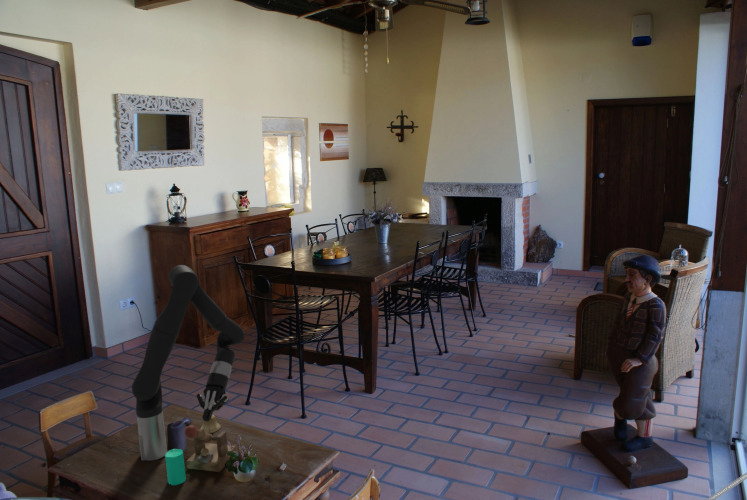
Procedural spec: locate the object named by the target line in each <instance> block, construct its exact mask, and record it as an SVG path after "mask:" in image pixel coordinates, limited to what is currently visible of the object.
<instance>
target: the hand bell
mask: <svg viewBox="0 0 747 500" xmlns="http://www.w3.org/2000/svg"><path fill="white" fill-rule="evenodd" d="M205 400H206V399H205V398H204V401H205ZM221 427H222V425H221V424H220V423H218V421H217V420H216V416H215V415H214V414H212V417H211V419H210V420H209V422H207V421H204V420H203V422H202V425H201V427H200V429H203V430H204V432H206V433H209V434H212V433H216V432H218V431H220V429H221Z"/></svg>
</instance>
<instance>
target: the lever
mask: <svg viewBox="0 0 747 500" xmlns="http://www.w3.org/2000/svg"><path fill="white" fill-rule="evenodd" d="M184 435H185V437H186V438H189V439H191V438H193V439H194V437H195V438H198V439H201V440H204V441H205V442H206V443H210V442H212V441H214V442H217V439H216V437H217V436H213V435H212V433H206V432H204V431H201V430H199V429H197V426H196V425H193V424H190V425H188V426H186V428H185V429H184Z"/></svg>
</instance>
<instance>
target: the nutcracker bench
mask: <svg viewBox="0 0 747 500" xmlns="http://www.w3.org/2000/svg"><path fill="white" fill-rule="evenodd" d="M198 430H201V431H204V430H203V429H198ZM215 437H216V439H217V441H216V443H210V442H206V441H204V440H201V439H198V438H195V437H193V442H194V443H193V444H194V453H193V454H191V456H190V457H189V458H188V459H187V460H186V467H187V469H188V470H198V471H206V472H207V471H208V472H217V473H220V472H221V471H222V470H223V469H224V468H225V467H226V466H225V463H226V461H227V460H229V457H228V455H227V451H236V452H237V445H234V444H233V445H232V444H231V445H232V447H233V449H231V447H230V446H229V445H230V444H228V440H227V439H228V438H227V431H224V430H223V431H220V433H219V434H217V436H215Z"/></svg>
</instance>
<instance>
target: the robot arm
mask: <svg viewBox="0 0 747 500" xmlns="http://www.w3.org/2000/svg"><path fill="white" fill-rule="evenodd" d="M168 280H169V284H170V286H171V291H170V292H171V293H170V295H169V298H168V302H167V303H166V306H165V308H164V309H163V310H162V311H161V313H160V314H159V315H158V317H157V319H156V320H155V322H154V324H153V326H152V330H151V332H150V335H149V339H148V342H147V346H146V351H145V355H144V358H143V363H142V365H141V367H140V369H139V371H138V373H137V374H136V375H135V377H134V379H133V382H132V384H131V392H132V394H133V396H134V398H135V401H136V405H135V413H136V420H137V421H136V422H137V430H138V431H137V432H138V442H139V443H138V444H139V451H140V452H139V453H140V458H141V462H142V461H150V462H151V461H157V460H160V459H162V458H163V457H165V454H166V453H167V452H168V447H167V436H166V429H165V420H164V412H163V392H162V389H163V388H162V381H161V375H162V373H163V370H164V366H165V365H166V363H167V360H168V359H169V356H170V355H171V352H172V350H173V349H174V346H175V344H176V341H177V339H178V337H179V333H180V330H181V327H182V324H183V321H184V318H185V316H186V313H187V309H188V307H189V305H190V303H192V305H193V306H194V307H195V309H196V310H197V311H198V312H199V314H200V315H201V317H202V318H203V319H204V321H205V322H207V324H208V325H209V326H210V327H211V328H212V330H213V331H216V332H218V334H217V338H216V354H215V358H214V360H213V363H212V365H211V368H210V370H209V374H208V377H207V380H206V383H205V388H204V389H203V390H202V391H203V392H201V393H197V394H196V398H197V400H198V403H199V405H200V408H201V409H202V410H203V414H202V416H201V417H202V420H203V422H204V421H207V422H209V420H210V419H211V417H212V415H214V414H213V413H214V412H215V411H219V410H220V409H222V408H223V407H224V405H226V404H227V403H228V402H229V401H230V398H229V397H228V396H227V394H226V390H227V387H228V384H229V379H230V377H231V373H232V367H233V363H234V361H235V357H236V355H235V354H236V353H235V351H234V350H233V349H230V346H236V345H237V346H238V345H240V344H241V343H243V342H244V341H245V337H246V335H245V332H244V330H243V328H242V327H241V325H239V324H238V323H237V322H235V321H234V320H232V319H231V318H229V317H228V316H227V314H226V313H225V312H224V311H223V310H222V309H221V307H220V306H218V304H217V303H216V302H215V301H214V300H213V299H212V298H211V297H210V295H208V294H207V293H206V291H205V290H204V288H202V286H201V285H200V283H199V278H198V275H197V274H196V272H195V271H194V270H193V269H192V268H191V267H189V266H187V265H185V264H178V265H175V266H174V267H173V268H172V269H170V272H169V274H168ZM205 399H206V400H205Z"/></svg>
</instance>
